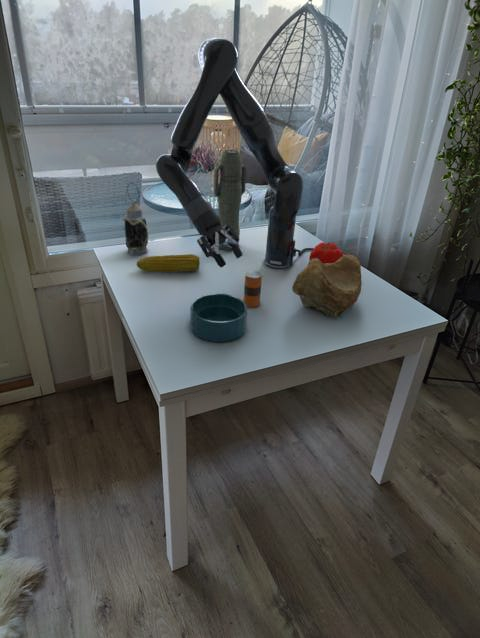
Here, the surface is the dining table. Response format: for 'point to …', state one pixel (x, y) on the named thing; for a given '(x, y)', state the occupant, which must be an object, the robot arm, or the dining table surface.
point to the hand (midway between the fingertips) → (232, 261)
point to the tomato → (326, 253)
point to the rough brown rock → (330, 285)
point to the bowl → (218, 317)
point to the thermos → (229, 190)
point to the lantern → (135, 229)
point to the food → (169, 263)
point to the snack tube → (252, 288)
